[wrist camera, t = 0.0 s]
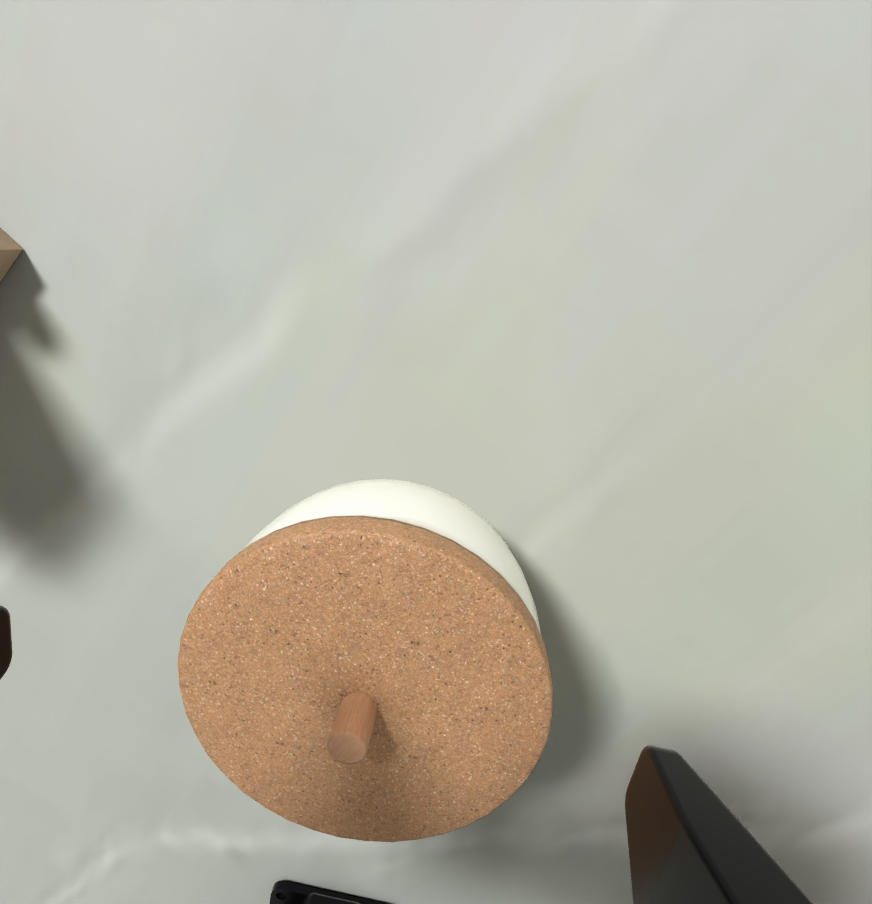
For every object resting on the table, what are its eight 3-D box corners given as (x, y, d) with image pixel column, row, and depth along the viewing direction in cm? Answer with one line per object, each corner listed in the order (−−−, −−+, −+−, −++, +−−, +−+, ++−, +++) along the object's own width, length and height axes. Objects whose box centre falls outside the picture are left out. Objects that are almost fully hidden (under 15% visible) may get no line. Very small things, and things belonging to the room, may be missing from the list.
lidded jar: (593, 576, 24) (651, 773, 15) (401, 718, 27) (356, 951, 18) (398, 378, 22) (334, 471, 13) (216, 555, 25) (65, 726, 16)
